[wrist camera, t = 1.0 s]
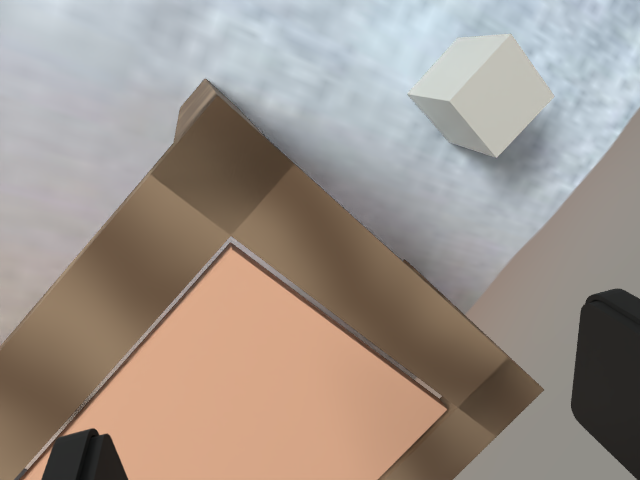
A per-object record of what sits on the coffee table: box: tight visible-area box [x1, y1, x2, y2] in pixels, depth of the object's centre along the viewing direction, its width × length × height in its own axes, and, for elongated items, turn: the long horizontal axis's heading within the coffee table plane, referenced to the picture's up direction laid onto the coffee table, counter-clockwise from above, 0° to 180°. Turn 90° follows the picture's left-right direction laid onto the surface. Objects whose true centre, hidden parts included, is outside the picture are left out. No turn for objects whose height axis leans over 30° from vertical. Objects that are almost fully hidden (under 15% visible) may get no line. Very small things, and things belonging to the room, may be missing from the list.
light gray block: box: [407, 34, 555, 158], centre depth 31 cm, size 5×5×6 cm
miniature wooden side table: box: [0, 79, 544, 480], centre depth 29 cm, size 25×22×14 cm
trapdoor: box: [14, 242, 447, 480], centre depth 24 cm, size 21×14×4 cm
